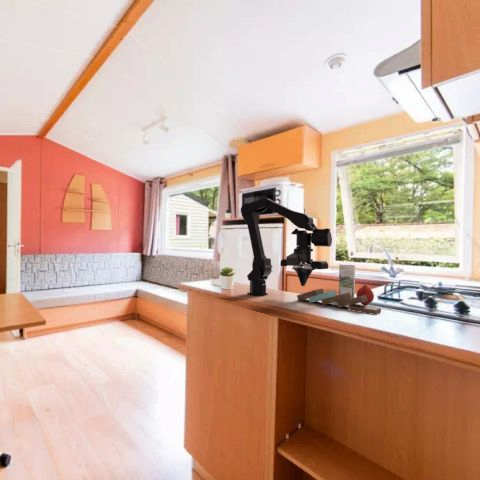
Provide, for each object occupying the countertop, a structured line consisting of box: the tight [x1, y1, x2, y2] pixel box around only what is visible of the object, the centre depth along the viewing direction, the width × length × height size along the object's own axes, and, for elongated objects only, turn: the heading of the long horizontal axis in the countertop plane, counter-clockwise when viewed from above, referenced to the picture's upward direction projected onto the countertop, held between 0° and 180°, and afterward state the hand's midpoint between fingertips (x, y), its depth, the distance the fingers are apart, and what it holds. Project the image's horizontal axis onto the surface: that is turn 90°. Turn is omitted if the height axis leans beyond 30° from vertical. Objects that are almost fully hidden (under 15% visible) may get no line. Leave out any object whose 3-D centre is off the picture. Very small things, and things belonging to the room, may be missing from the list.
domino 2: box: [308, 290, 338, 304], centre depth 110 cm, size 2×5×9 cm
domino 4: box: [335, 295, 368, 309], centre depth 103 cm, size 2×5×9 cm
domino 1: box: [296, 288, 325, 301], centre depth 114 cm, size 2×5×9 cm
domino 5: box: [347, 303, 382, 315], centre depth 99 cm, size 2×5×9 cm
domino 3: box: [320, 292, 351, 306], centre depth 106 cm, size 2×5×9 cm
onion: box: [355, 283, 375, 306], centre depth 108 cm, size 6×6×8 cm
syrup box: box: [338, 262, 356, 299], centre depth 120 cm, size 6×6×14 cm
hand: (302, 286), depth 117 cm, fingers closed
